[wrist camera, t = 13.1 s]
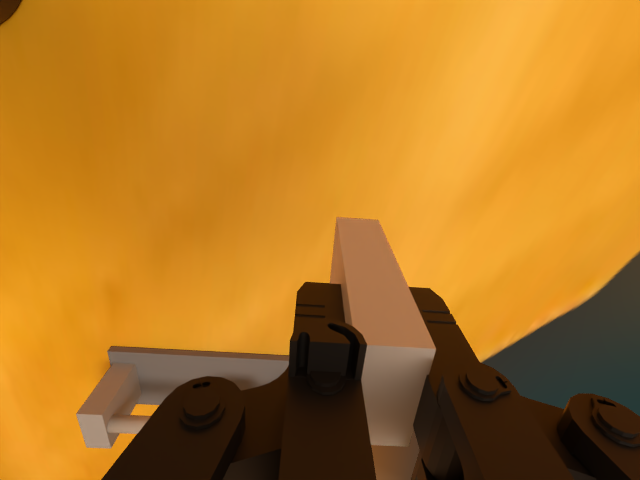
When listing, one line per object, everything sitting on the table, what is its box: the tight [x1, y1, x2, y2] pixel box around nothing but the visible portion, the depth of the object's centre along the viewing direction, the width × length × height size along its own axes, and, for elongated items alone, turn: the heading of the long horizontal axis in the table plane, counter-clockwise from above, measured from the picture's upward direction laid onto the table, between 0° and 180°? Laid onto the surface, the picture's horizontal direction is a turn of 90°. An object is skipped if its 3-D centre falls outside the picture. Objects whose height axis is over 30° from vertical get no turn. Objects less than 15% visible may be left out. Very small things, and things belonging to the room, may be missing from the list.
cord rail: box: [76, 346, 289, 448], centre depth 45 cm, size 30×10×12 cm, turn 86°
